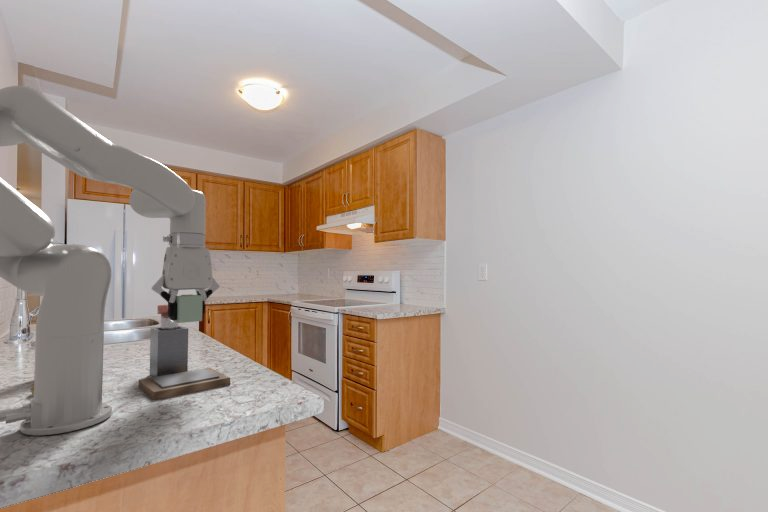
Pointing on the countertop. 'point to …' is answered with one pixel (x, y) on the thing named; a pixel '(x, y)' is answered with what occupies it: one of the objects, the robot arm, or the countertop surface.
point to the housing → (189, 308)
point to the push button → (166, 318)
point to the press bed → (182, 383)
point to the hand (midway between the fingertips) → (186, 317)
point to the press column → (168, 351)
